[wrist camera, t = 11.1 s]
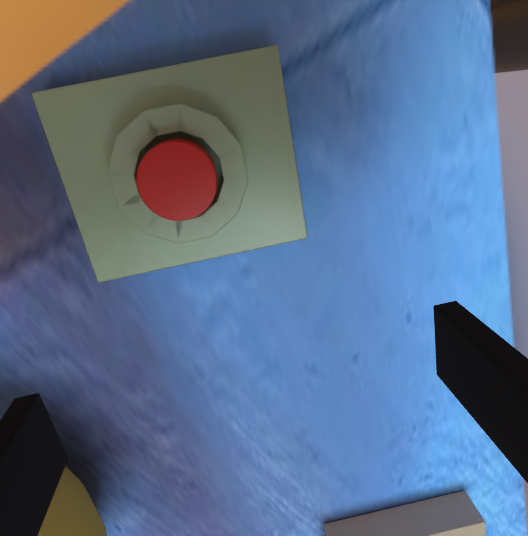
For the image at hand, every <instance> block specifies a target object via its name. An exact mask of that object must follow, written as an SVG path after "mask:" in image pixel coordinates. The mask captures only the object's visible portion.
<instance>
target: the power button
mask: <svg viewBox="0 0 528 536" xmlns="http://www.w3.org/2000/svg"><path fill="white" fill-rule="evenodd" d="M136 180H137V188H138V191H139V194H140V196H141V198H142V200H143V202H144V203H145V205H146V206H147V207H148V208H149V209H150V210H151V211H152V212H154V213H155V214H157V215H158V216H160V217H162V218H165V219H168V220H174V221H184V220H189V219H192V218H195V217H197V216H199V215H200V214H202V213H203V212H204V211H205V210H206V209H207V208H208V207H209V206H210V205H211V203H212V201H213V200H214V197H215V195H216V190H217V173H216V168H215V164H214V162H213V160H212V158H211V156H210V155H209V154H208V152H207V151H206V150H205V149H204V148H203V147H201V146H200V145H199V144H197V143H195V142H193V141H190V140H187V139H182V138H173V139H168V140H165V141H162V142H160V143H159V144H157V145H156V146H154V147H153V148H152V149H150V150H149V151H148V152H147V153H146V154H145V155H144V157H143V158H142V160H141V162H140V164H139V167H138V170H137V178H136Z"/></svg>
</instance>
